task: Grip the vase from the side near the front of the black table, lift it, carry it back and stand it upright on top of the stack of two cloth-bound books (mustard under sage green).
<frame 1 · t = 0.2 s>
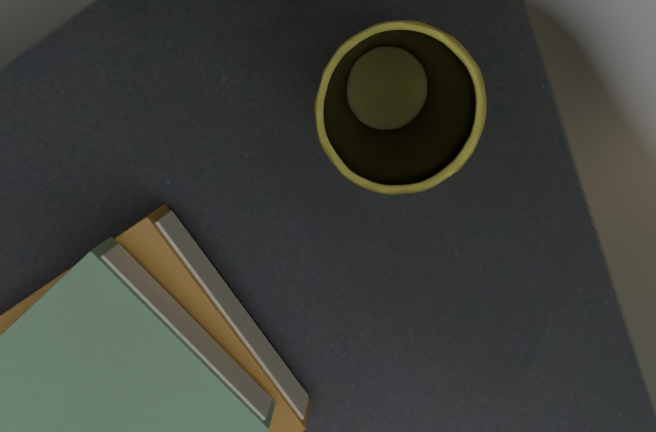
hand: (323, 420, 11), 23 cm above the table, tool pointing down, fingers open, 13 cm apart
book stack: (114, 383, 37), on the table
vase: (386, 87, 32), on the table
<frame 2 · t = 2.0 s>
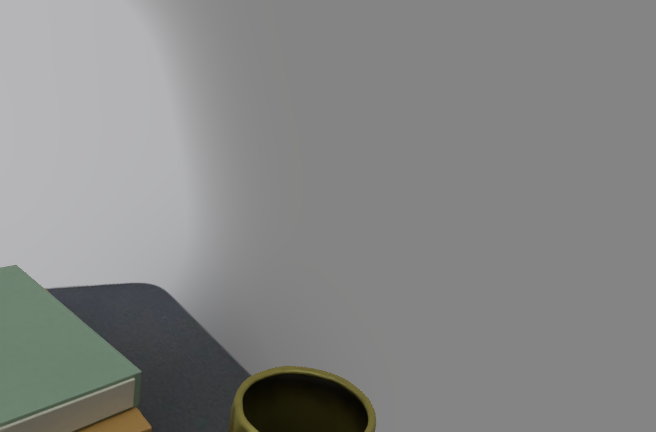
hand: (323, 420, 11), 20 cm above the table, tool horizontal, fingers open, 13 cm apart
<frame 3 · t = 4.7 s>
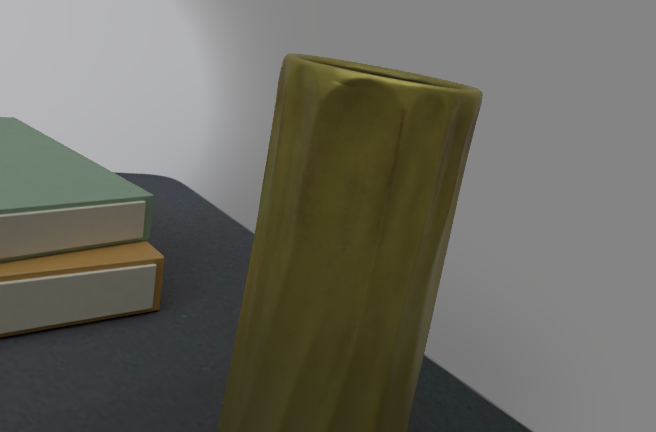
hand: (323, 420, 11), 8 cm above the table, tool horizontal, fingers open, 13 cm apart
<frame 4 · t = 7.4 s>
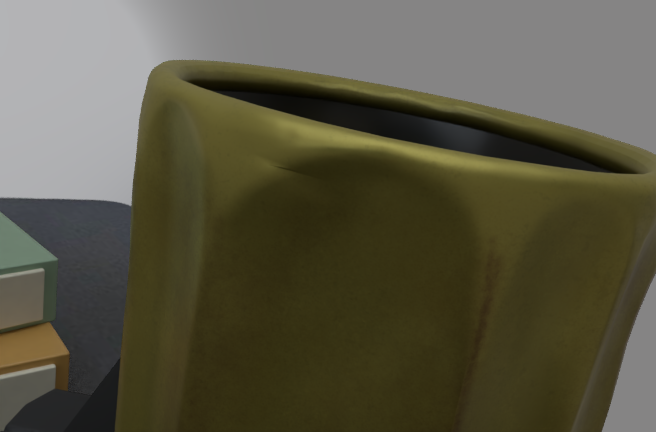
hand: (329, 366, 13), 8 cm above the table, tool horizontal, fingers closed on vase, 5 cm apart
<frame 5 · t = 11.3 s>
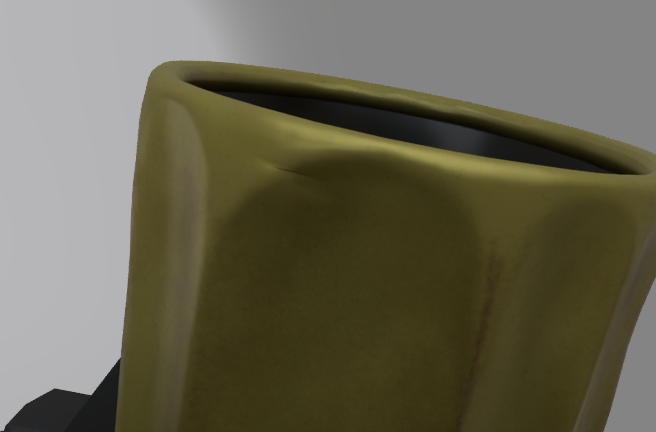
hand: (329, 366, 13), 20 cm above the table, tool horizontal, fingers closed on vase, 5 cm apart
when the fingers open (13 cm above the table, at t = 15.3 s): vase stays where it is, resting on book stack.
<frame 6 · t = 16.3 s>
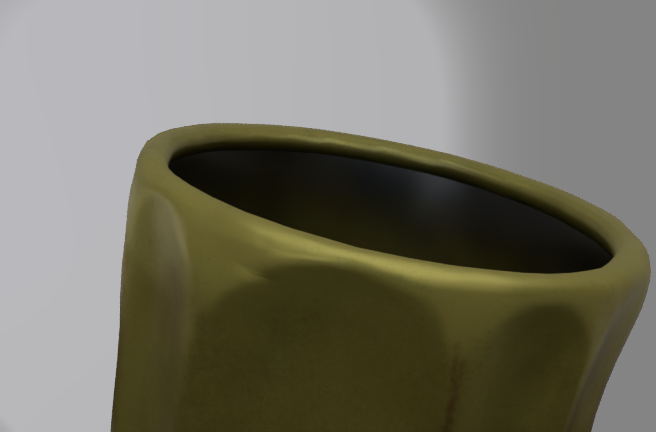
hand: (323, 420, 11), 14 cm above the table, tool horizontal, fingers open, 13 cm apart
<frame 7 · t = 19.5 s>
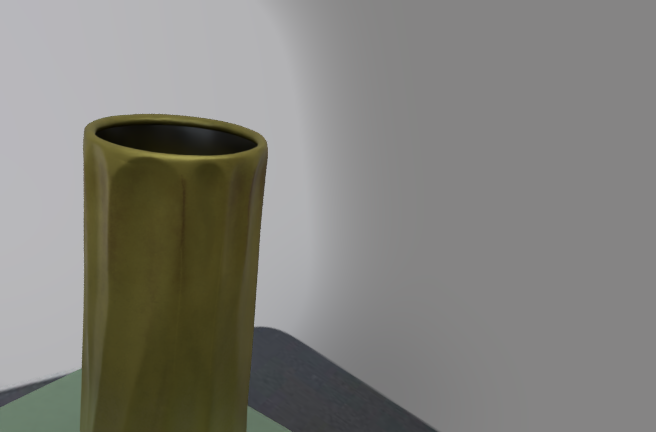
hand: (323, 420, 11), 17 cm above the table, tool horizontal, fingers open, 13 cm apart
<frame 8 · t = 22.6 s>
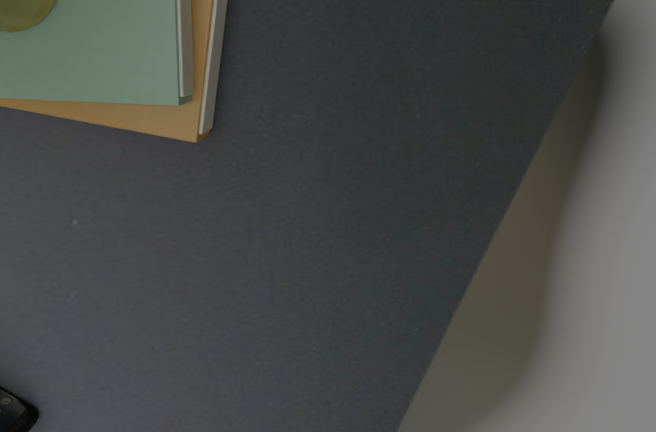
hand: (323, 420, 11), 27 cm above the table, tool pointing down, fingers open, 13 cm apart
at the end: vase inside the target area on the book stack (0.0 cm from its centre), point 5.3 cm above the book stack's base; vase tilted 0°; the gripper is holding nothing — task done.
